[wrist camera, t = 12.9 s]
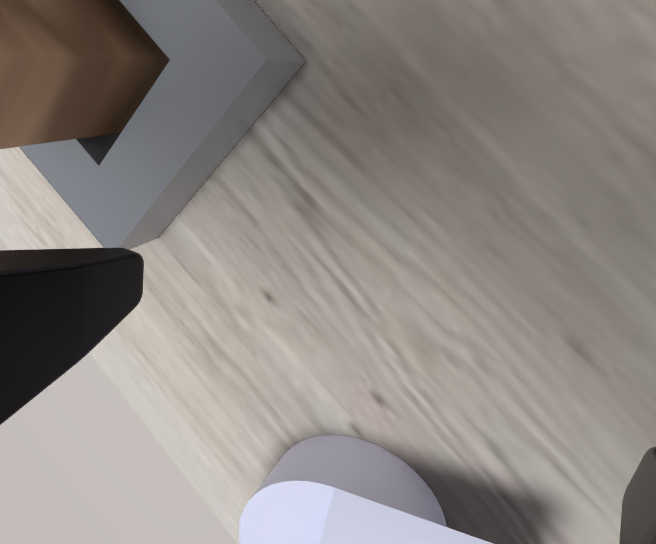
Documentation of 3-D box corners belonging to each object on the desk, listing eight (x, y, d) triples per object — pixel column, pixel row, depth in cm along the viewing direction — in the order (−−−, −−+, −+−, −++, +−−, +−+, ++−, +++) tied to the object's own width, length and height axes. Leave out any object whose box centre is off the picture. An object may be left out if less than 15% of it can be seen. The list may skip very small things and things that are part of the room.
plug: (194, 60, 22) (-143, 51, 12) (145, 130, 24) (-179, 174, 14) (130, -15, 22) (-262, -91, 12) (87, 60, 24) (-280, 52, 14)
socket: (305, 61, 20) (266, 59, 18) (158, 238, 26) (111, 256, 23) (115, -162, 20) (48, -196, 18) (8, 61, 26) (-54, 60, 23)
